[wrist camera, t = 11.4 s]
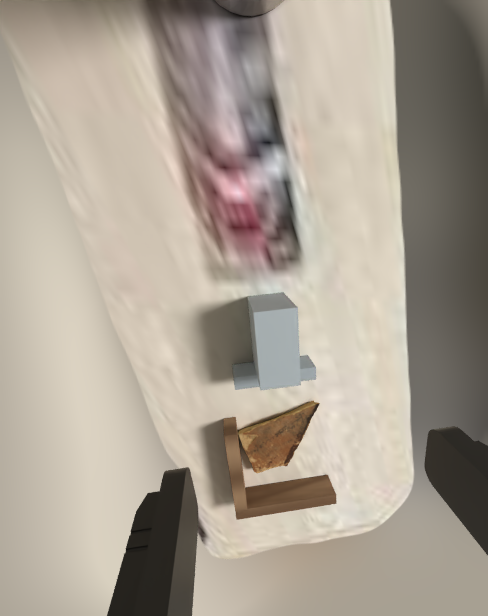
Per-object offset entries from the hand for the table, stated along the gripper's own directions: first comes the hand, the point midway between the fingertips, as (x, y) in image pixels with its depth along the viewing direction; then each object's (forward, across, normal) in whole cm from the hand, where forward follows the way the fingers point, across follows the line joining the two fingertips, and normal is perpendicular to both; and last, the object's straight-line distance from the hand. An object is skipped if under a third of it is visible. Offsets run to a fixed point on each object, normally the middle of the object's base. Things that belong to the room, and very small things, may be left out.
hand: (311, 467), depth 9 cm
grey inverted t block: (+22, -2, +4) cm, 23 cm away
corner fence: (+22, -2, +23) cm, 32 cm away
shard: (+23, -1, +18) cm, 29 cm away
